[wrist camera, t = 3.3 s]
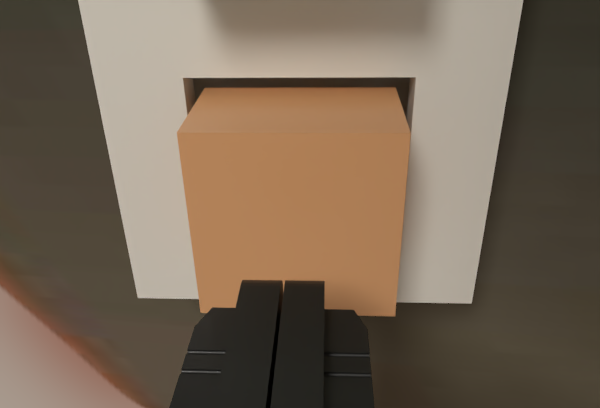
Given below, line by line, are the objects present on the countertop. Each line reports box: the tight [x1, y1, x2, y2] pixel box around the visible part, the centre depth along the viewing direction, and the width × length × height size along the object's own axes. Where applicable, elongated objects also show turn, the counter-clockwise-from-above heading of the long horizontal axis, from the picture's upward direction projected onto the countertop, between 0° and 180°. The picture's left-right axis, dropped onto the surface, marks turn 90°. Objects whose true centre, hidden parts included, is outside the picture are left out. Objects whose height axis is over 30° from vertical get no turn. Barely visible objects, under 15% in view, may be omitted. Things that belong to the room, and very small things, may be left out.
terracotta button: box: [177, 87, 411, 316], centre depth 14 cm, size 5×5×3 cm
